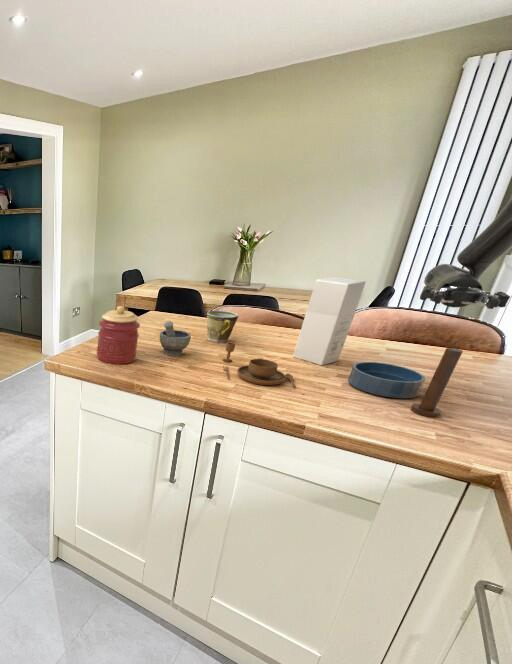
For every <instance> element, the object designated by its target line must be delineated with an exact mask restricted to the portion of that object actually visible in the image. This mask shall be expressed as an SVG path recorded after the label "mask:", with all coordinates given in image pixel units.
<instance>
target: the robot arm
mask: <svg viewBox="0 0 512 664" xmlns="http://www.w3.org/2000/svg"><path fill="white" fill-rule="evenodd" d="M510 249H512V198H511V199H510V200H509V201H508V203H507V204H506V205H505V206H504V207H503V208H502V210H501V211H500V212H499V214H497V216H496V217H495V218H494V219H493V221H491V223H490V224H489V225H488V226H487V227H486V228H485V229H483V230H482V232H481V233H479V234H478V235H477V236H476V237H475V238H474V239H473V240H472V241H471V242H470V243H469V244H468V245H466V247H464V248H463V250H461V251H460V252H459V253H458V254H457V257H456V260H457V262H458V263H459V264H460V265H461V266H462V267H464V268H466V269H464V268H461V267H458V266H456V265H453V264H450V263H442V264H437V265H436V266H434V267H432V268H431V269H430V270H429V271H428V272H427V273H426V275H425V276H424V279H423V283H424V285H425V286H423V288H422V291H421V293H420V295H419V300H420V301H427V300H428V299H429V301H430V302H434V305H435V304H436V305H440V304H442V305H443V306H445V307H449V308H463V307H468V306H469V305H471V306H476V307H483V306H485V308H487V309H489V310H493V309H494V308H506V307H507V304H508V301H510V298H511V296H510V295H509V294H507V293H506V292H503V291H496V292H494V294H492V293H491V291H489V290H484V289H483V286H482V283H480V282H479V281H480V279H481V278H482V276H483V275H484V274H485V272H486V271H487V270H488V269H489V268H490V266H491V265H493V264H494V263H496V261H497V260H498V259H500V258H501V257H502V256H503V255H505V254H506V253H507V252H509V250H510Z"/></svg>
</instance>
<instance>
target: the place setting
mask: <svg viewBox="0 0 512 664" xmlns="http://www.w3.org/2000/svg"><path fill="white" fill-rule="evenodd" d="M235 349H236V343H235V342H232V341H231V342H230V341H227V342H226V345H225V351H226V352H227V354H226V358H223V359H222V362H225V363H233V359H231V353H233V352H234V351H235ZM278 366H279V364H278V363H277V362H276V361H272V360H270V359H265V358H253V359H250V360H249V362H248V365H241V366H239V367H238V368H237V370H236V373H237V375H238V377H240V378H241V379H243V380H244V381H245V382H248V383H251V384H255V385H260V386H274V385H280V384H282V383H283V382H284V381H285V380H286V379H287V380H290V383H291V386H292V387H293V388H296V384H295V383H294V380H293V379H294V376H293V375H292V374H291V373H286V374H285V373H283V372H281V371H280V370H278ZM222 368H223V372H225V373H226V377H227V380H230V375H229V369H228V368H229V365H223V367H222Z"/></svg>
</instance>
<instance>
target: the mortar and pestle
mask: <svg viewBox="0 0 512 664" xmlns="http://www.w3.org/2000/svg"><path fill="white" fill-rule="evenodd" d="M163 326H164V328H165V329H164V330H161V331H159V343H160V345H161V347H162V348H163V349H162V353H163V354H164V355H166V356H169V357H179V356H182V355H183V350H185V349H186V348H187V347H188V346H189V344H190V341H191V338H192V335H191V333H190V332H187V331H186V330H185V331H184V330H179V329H174V323H173V322H172V321H171V320H169V321H166V322H165V323H164V324H163Z"/></svg>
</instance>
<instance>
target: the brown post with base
mask: <svg viewBox="0 0 512 664" xmlns="http://www.w3.org/2000/svg"><path fill="white" fill-rule="evenodd" d="M463 352H464V351H463V350H462V349H459V348H455V347H446V348H445V350H444V353H443V354H442V357H441V358H440V360H439V363H438V365H437V367H436V369H435V371H434V374H433V376H432V378H431V380H430V382H429V385H428V387H427V389H426V391H425V393H424V395H423V397H422V399H421V401H420V403H413V404H412V405H411V406H410V411H411V412H412V413H414V414H416V415H419V416H422V417H426V418H439V417H440V416H441V415H442V413H443V411H442V410H441V409H440V408H438V404H439V402H440V400H441V398H442V396H443V394H444V391H445V390H446V388H447V386H448V383H449V381H450V379H451V377H452V375H453V373H454V371H455V369H456V367H457V365H458V363H459V361H460V358H461V357H462V355H463Z"/></svg>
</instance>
